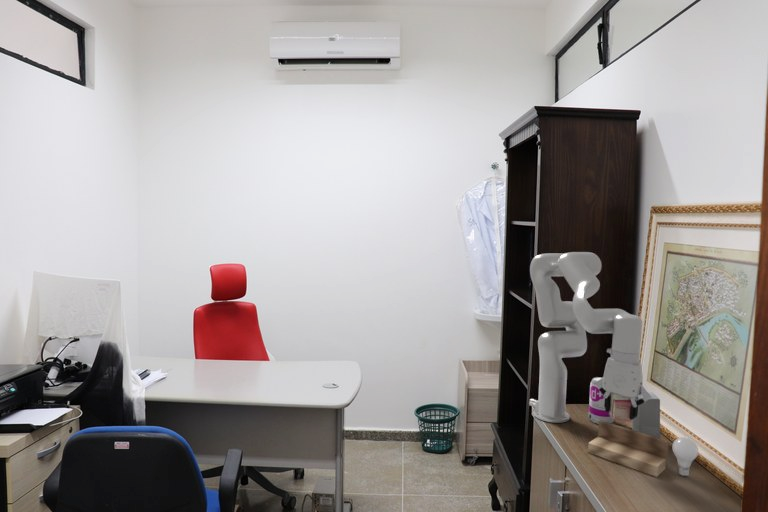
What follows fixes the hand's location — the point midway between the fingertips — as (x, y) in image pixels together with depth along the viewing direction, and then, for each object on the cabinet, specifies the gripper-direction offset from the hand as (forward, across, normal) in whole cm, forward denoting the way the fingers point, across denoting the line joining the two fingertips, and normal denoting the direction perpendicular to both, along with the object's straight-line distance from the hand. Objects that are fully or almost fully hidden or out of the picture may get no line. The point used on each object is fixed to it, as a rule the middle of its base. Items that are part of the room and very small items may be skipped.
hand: (620, 413), depth 152 cm
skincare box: (+15, +1, +21) cm, 26 cm away
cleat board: (+15, +2, +3) cm, 15 cm away
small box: (+1, 0, 0) cm, 1 cm away
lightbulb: (+15, +17, +5) cm, 23 cm away
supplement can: (+16, -16, +27) cm, 35 cm away
